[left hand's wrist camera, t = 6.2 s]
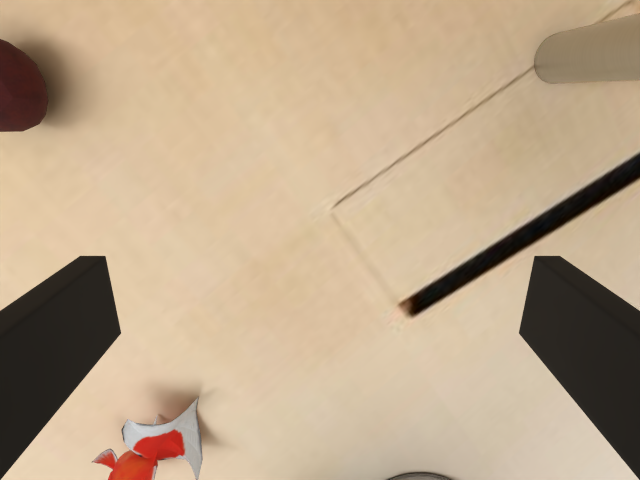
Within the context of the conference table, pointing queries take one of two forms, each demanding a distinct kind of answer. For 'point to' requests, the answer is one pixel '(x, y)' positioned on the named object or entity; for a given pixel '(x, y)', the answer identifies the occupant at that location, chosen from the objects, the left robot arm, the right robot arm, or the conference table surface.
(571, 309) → the left robot arm
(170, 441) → the fish
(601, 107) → the conference table surface
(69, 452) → the conference table surface
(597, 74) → the jar
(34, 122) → the dark red ball
